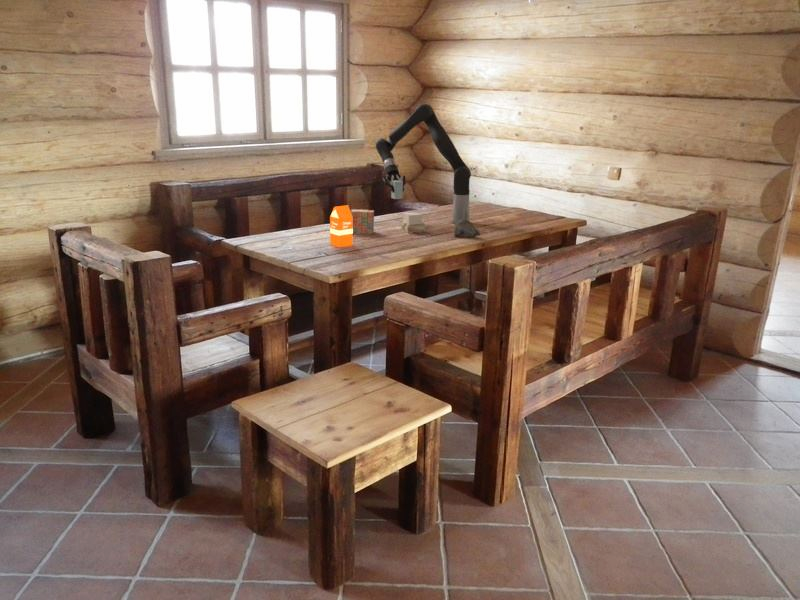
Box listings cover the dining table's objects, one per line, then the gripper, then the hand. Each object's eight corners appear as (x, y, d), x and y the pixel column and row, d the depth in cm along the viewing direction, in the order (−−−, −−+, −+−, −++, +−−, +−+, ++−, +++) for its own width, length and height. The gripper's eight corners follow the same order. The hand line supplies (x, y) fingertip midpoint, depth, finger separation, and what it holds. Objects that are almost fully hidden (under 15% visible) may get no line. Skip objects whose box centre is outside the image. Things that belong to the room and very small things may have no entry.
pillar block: (391, 197, 397) (391, 180, 394) (399, 197, 399) (399, 180, 396) (394, 199, 393) (394, 181, 390) (402, 198, 395) (402, 181, 392)
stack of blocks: (334, 232, 376) (333, 210, 372) (335, 230, 382) (335, 208, 378) (372, 234, 375) (373, 211, 371) (373, 231, 381) (374, 209, 377)
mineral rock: (481, 238, 370) (482, 220, 367) (467, 240, 364) (468, 222, 361) (465, 234, 380) (466, 216, 377) (450, 236, 373) (451, 218, 370)
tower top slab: (403, 221, 386) (403, 212, 384) (416, 220, 388) (416, 212, 387) (408, 224, 378) (408, 215, 377) (421, 223, 381) (422, 214, 380)
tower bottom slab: (400, 230, 387) (401, 221, 386) (417, 228, 391) (417, 220, 390) (408, 233, 379) (408, 224, 377) (424, 232, 382) (424, 223, 381)
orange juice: (353, 244, 349) (353, 206, 343) (339, 247, 343) (338, 207, 337) (343, 242, 355) (343, 203, 348) (329, 244, 349) (329, 205, 343)
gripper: (381, 164, 394) (388, 188, 387) (403, 163, 399) (411, 187, 392) (377, 172, 400) (384, 196, 393) (400, 171, 406) (407, 194, 399)
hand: (398, 191), depth 393 cm, fingers closed on pillar block, 5 cm apart
